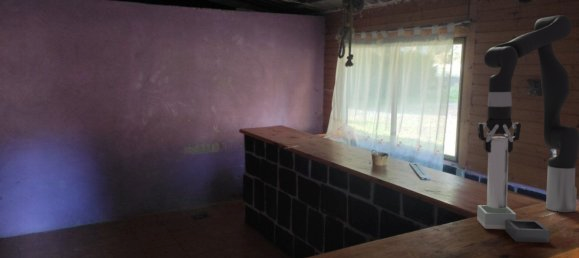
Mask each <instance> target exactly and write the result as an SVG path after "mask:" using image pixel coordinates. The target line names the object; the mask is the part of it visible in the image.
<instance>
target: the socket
mask: <svg viewBox="0 0 579 258" xmlns="http://www.w3.org/2000/svg"><path fill="white" fill-rule="evenodd" d="M504 230H505V233H506V234H508V235H509V236H510V238H511V239H512V240H514V242H516V243H544V244H549V243H550V234H551V232H550V231H551V230H550V229H548V227H546V226H545V225H544V224H542V222H540V221H538V220H533V219H531V220H529V219H528V220H527V219H526V220H524V219H516V220H506V224H505V229H504Z"/></svg>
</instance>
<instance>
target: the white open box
mask: <svg viewBox="0 0 579 258" xmlns="http://www.w3.org/2000/svg"><path fill="white" fill-rule="evenodd" d="M476 210H477V212H476V213H477V214H476V220H477V221H478V222H479V223H480V225H481V226H483V228H484V229H487V230H489V229H490V230H492V229H493V230H505V224H506V220H517V213H516V212H515V211H514V210H512V209H511V208H510V207H509V206H507V208H504V209H495V208H490V207H488V206H487V204H485V205H484V204H483V205H482V204H478V205H477V209H476Z"/></svg>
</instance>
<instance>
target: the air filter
mask: <svg viewBox="0 0 579 258" xmlns="http://www.w3.org/2000/svg"><path fill="white" fill-rule="evenodd" d="M489 142H490V153H487V184H486V185H487V188H486V189H487V190H486V205H487V206H488V207H490V208H495V209H504V208H507V207H508V187H509V186H508V185H509V184H508V183H509V182H508V181H509V179H508V178H509V176H508V175H509V156H510V155H509V140H508V138H507V137H506V136H492V137H491V139H490V141H489Z"/></svg>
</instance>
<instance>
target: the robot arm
mask: <svg viewBox="0 0 579 258" xmlns="http://www.w3.org/2000/svg"><path fill="white" fill-rule="evenodd" d="M572 29H573V24H572V20H571V19H570V17H569V16H566V15H564V14H561V15H559V14H558V15H553V16H547V17H541V18H539V19H537V20H536V22H535V23H534V28H533V31H531V32H527V33H524V34H522V35H519V36H517V37H515V38H513V39H511V40H510V41H507V42H504V43H501V44H497V45H495V46H493V47H490V48H488V50H487V51H486V52H485V54H484V57H483V60H484V64H485V65H486V66H487V67H488V68H492V69H495V68H499V69H500V70H499V71H498V73H497V74H493V75H491V76H489V79H488V81H489V82H488V97H487V116H486V117H487V119H486V122H478V123H477V135H478V136H477V137H478V139H479V140H481V141H483V143H484V144H483V145H484V146H483V149H484V151H485V152H486V153H487V154H488V153H490V142H489V141H490V139H491V137H494V135H499V134H501V135H504V137H507V138H508V140H509V153H510V154H511V153H512V152H513V150H514V149H513V148H514V142H515V141H518V140H520V133H521V127H522V124H521V122H518V121H517V122H513V121H512V108H513V107H512V105H513V101H512V99H513V98H512V80H513V76H514V74H515V71H516V67H517V64H518V60H519V59H521V58H523V57H525V56H527V55H528V54H530V53H532V52H534V51H537V54H538V55H537V56H538V61H539V68H540V69H539V70H540V71H539V72H540V82H541V85H540V86H541V94H542V101H543V103H542V104H543V139H544V143H545V145H546V146H547V147H548V148H551V149H557V150H559V152H558V154H557V156H552V157H549V158H548V160H547V175H546V176H547V178H546V179H547V180H546V196H545V198H546V199H545V200H546V201H545V208H546V209H547V210H549V211H552V212H557V211H558V212H559V213H572V212H576V211H577V210H576V209H577V192H578V191H577V187H576V186H575V184H576V183H575V182H576V164H577V161H578V159H579V130H578V128H576V127H575V126H570V125H561V111H562V109H563V107H564V105H565V104H566V102H567V99H568V97H569V95H570V92H571V84H570V76H569V72H568V70H567V69H566V67H565V66H564V65H563V64H562V62H560V60H559V59H558V57H557V56H556V55H555V53H554V47H553V44H552V43H555V42H559V41H562V40H565V39H567V38H568V37H569V36H570V34H571V33H572ZM486 128H488V130H487V132H486V134H484V133H485V132H484V130H485V129H486ZM511 128H512V129H513V135H512V133H511V132H510V129H511Z"/></svg>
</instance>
